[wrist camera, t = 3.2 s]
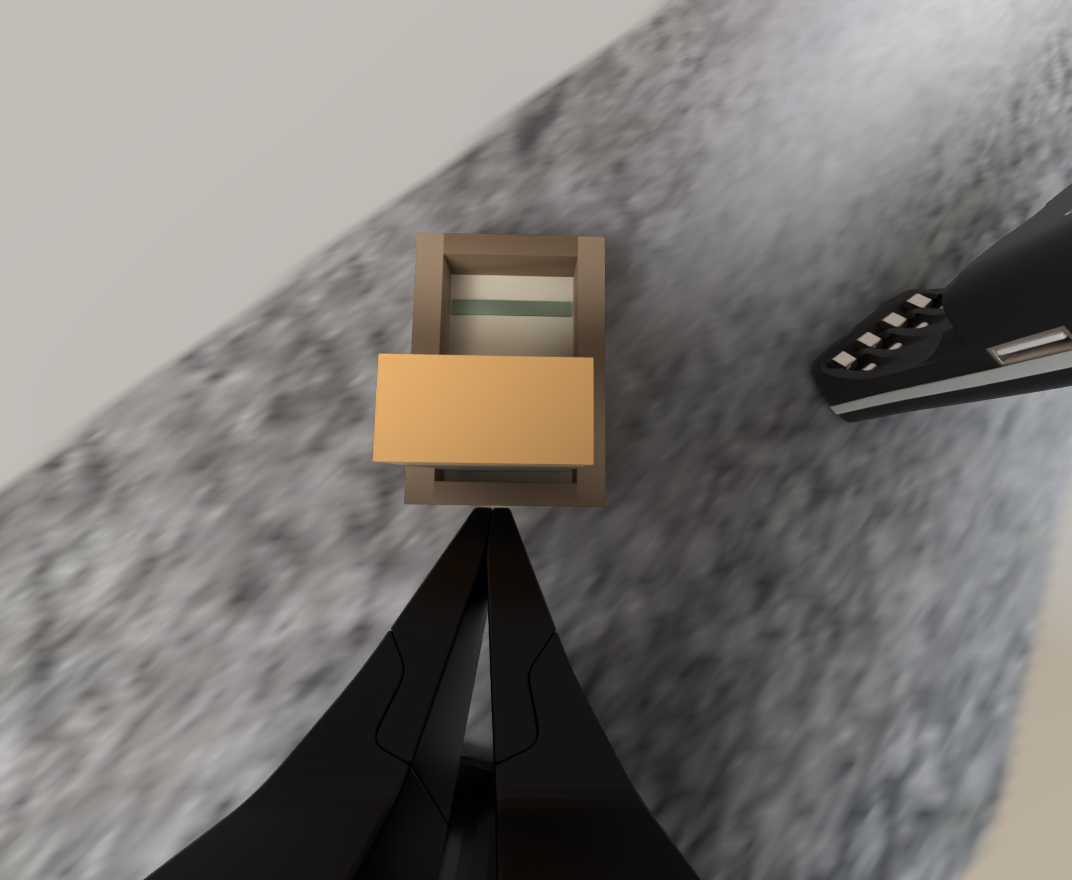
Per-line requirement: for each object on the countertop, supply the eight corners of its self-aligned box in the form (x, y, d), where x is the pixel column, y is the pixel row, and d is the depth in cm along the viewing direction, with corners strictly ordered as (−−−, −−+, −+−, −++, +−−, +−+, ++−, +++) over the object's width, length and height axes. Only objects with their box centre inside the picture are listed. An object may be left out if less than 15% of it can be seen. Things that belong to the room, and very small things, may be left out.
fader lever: (560, 472, 15) (593, 464, 7) (455, 470, 15) (372, 461, 7) (560, 421, 15) (593, 357, 7) (457, 419, 15) (378, 353, 7)
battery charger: (896, 273, 18) (1525, -81, 7) (952, 338, 18) (1709, 85, 6) (781, 362, 18) (1247, 144, 6) (837, 430, 17) (1434, 335, 6)
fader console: (591, 502, 17) (605, 506, 14) (426, 499, 17) (404, 504, 14) (592, 277, 18) (604, 236, 15) (436, 274, 18) (416, 232, 15)
